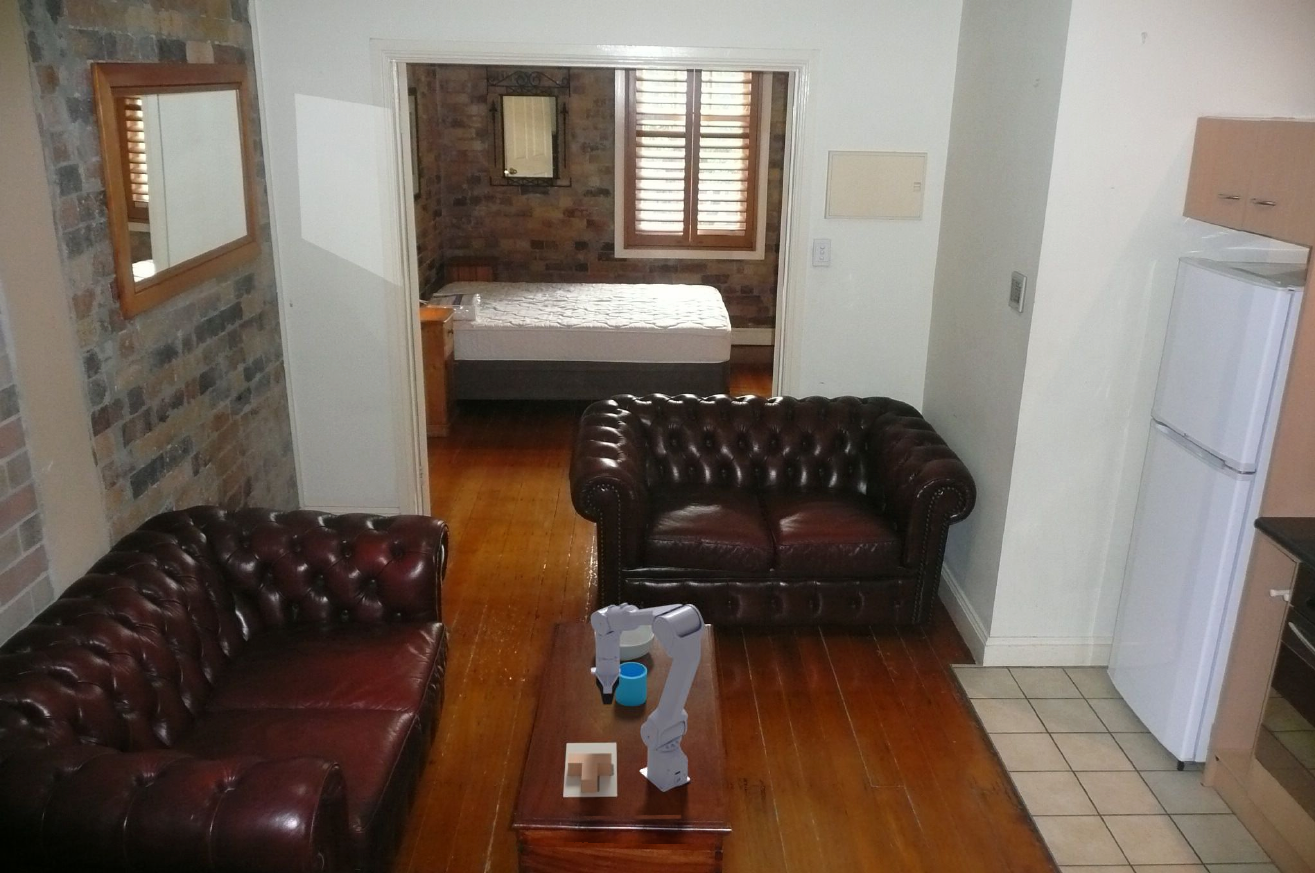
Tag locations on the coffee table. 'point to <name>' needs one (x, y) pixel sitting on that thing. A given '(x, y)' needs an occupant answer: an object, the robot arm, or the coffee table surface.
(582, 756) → the t block
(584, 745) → the push mat
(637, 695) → the mug
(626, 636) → the cereal bowl
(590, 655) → the coffee table surface
